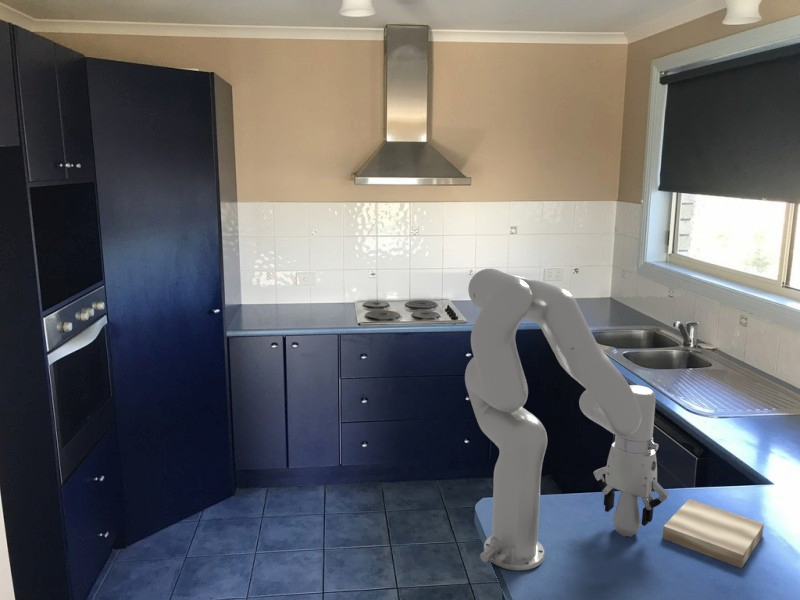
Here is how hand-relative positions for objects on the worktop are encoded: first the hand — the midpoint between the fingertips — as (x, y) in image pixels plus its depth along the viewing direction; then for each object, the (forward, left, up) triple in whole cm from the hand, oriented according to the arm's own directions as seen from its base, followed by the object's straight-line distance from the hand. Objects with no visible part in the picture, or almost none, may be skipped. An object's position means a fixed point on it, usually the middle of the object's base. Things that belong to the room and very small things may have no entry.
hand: (627, 515), depth 144 cm
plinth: (+11, -15, -4) cm, 19 cm away
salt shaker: (0, 0, -4) cm, 4 cm away
